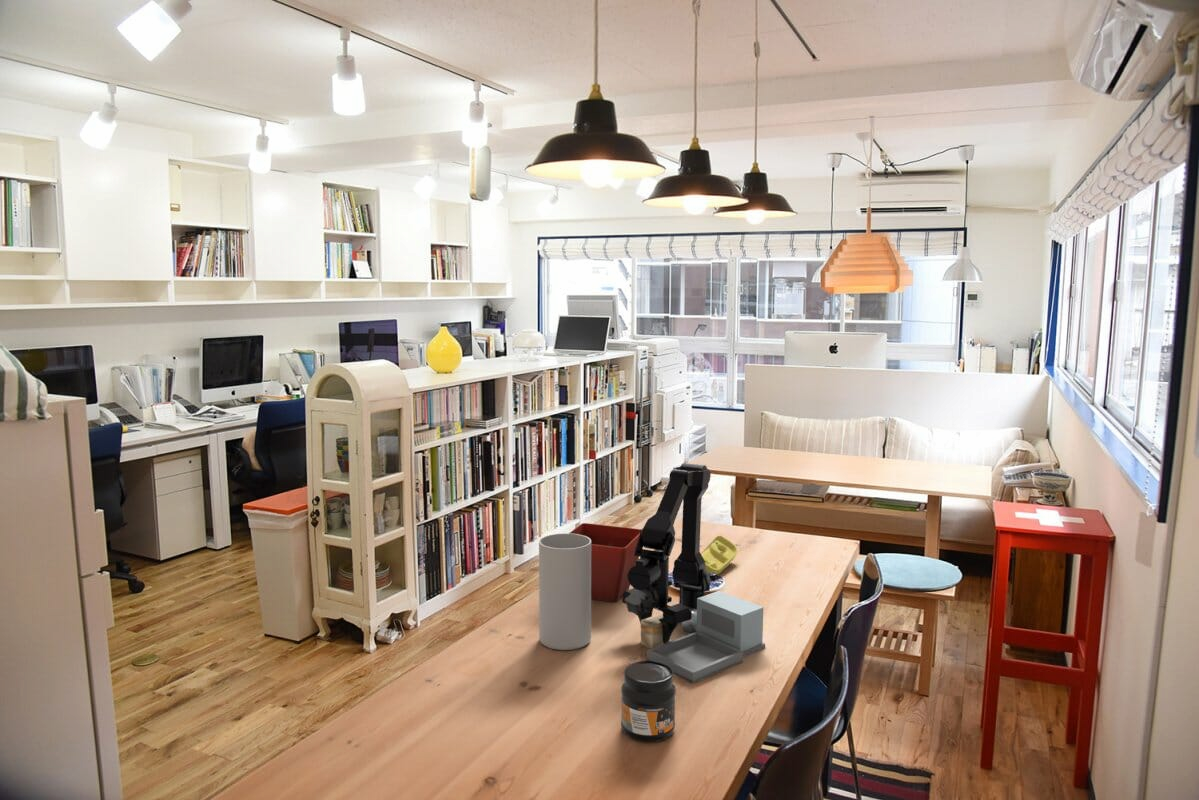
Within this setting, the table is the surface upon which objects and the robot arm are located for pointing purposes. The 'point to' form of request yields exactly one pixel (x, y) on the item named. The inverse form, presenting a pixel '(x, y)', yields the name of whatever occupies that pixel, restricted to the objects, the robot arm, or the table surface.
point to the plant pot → (610, 558)
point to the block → (652, 631)
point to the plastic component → (719, 555)
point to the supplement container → (648, 701)
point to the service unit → (731, 621)
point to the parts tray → (695, 656)
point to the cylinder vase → (565, 591)
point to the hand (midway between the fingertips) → (655, 638)
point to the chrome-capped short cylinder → (690, 623)
